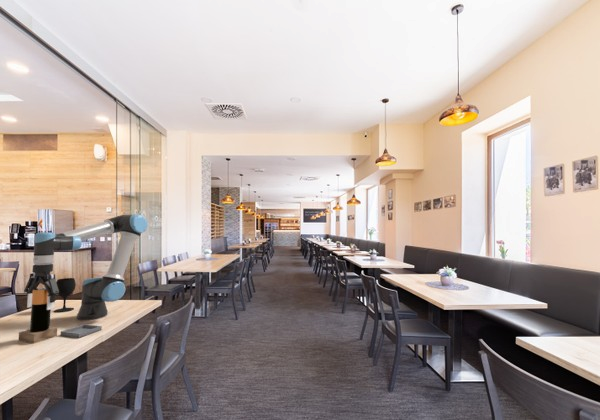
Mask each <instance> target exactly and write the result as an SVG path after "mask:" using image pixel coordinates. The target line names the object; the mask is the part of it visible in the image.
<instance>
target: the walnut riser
mask: <svg viewBox="0 0 600 420" xmlns="http://www.w3.org/2000/svg"><path fill="white" fill-rule="evenodd" d="M57 336H58V327H53V326H50V327H49V329H47V330H43V331H38V332H31V331H30V329H27V330H23V331H19V332H18V340H17V341H18V342H21V343H26V344H36V343H40V342H43V341H46V340H49V339H53V338H55V337H57Z"/></svg>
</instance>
